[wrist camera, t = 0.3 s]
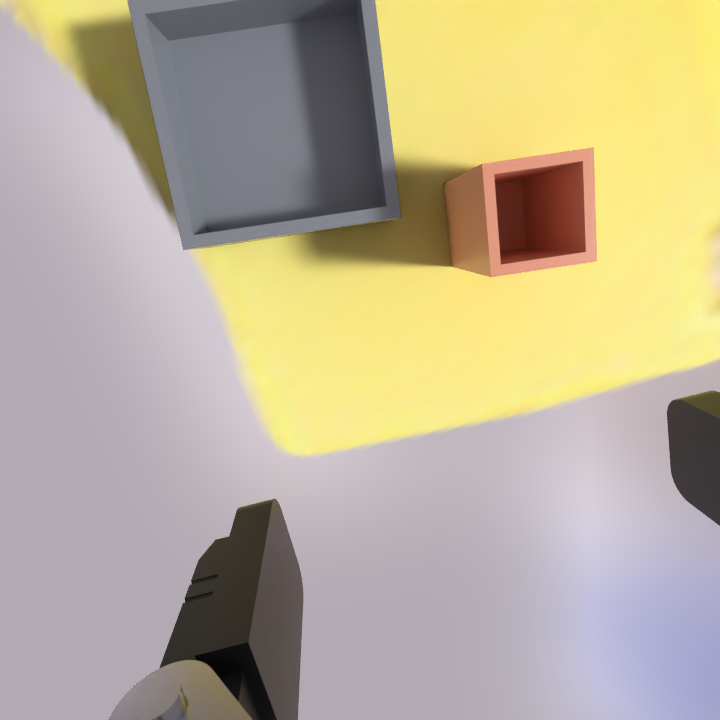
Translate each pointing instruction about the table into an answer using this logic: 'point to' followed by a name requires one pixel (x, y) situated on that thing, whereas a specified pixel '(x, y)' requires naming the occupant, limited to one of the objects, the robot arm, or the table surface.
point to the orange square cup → (523, 214)
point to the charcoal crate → (268, 115)
